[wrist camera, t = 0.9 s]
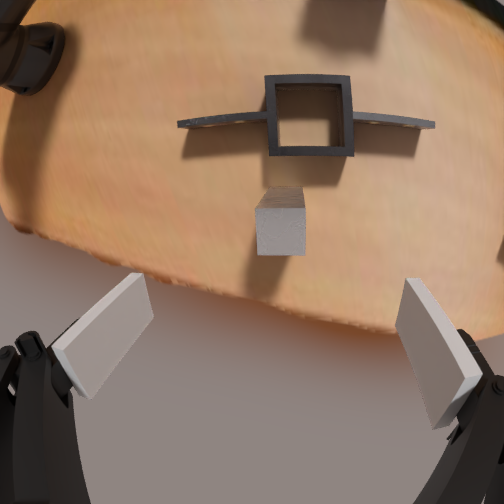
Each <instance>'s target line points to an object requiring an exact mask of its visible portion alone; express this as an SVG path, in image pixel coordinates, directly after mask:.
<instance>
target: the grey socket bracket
mask: <svg viewBox="0 0 504 504" xmlns="http://www.w3.org/2000/svg"><path fill="white" fill-rule="evenodd" d="M264 77H265V92H266V108H267V111H262V112H247V113H235V114H225V115H216V116H208V117H201V118H194V119H187V120H181V121H177V124H178V128H185V129H195V128H202V127H213V126H220V125H230V124H241V123H255V122H267V125H268V143H269V156H351V157H354V127H353V122H358V123H369V124H382V125H392V126H401V127H408V128H416V129H434V128H435V122H434V121H429V120H423V119H417V118H411V117H403V116H395V115H387V114H377V113H366V112H353V108H352V94H351V83H350V76H345V75H323V74H289V75H267V76H264ZM282 90H331V91H336V93H337V107H338V125H339V147H332V146H281V147H280V128H279V110H278V94H277V91H282Z"/></svg>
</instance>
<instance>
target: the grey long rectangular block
mask: <svg viewBox="0 0 504 504" xmlns="http://www.w3.org/2000/svg"><path fill="white" fill-rule="evenodd" d="M255 217H256V236H257V255H302V256H305V239H306V208H305V200H304V193H303V186H285V187H269V188H268V190H267V191H266V193H265V194H264V196H263V197H262V199H261V200H260V202H259V203H258V205H257V206H256V208H255Z"/></svg>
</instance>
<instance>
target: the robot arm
mask: <svg viewBox="0 0 504 504" xmlns="http://www.w3.org/2000/svg"><path fill="white" fill-rule="evenodd" d="M35 1H36V0H0V86H1V87H3V88H5V89H8V90H10V91H12V92H14V93H16V94H19V95H33V94H35V93H37V92H38V91H39V90H41V89H42V88H43V87H44V85H45V84H46V83H47V82H48V80H49V79H50V77H51V76H52V74H53V72H54V71H55V69H56V67H57V64H58V62H59V60H60V57H61V54H62V51H63V46H64V38H65V36H64V30H63V28H62V26H61V25H59V24H56V23H52V22H43V23H36V24H30V25H19V24H20V23H21V21H22V20H23V18H24V17H25V15H26V14H27V12H28V11H29V9H30V8H31V7H32V5H33V4H34V2H35ZM153 318H154V315H153V312H152V308H151V304H150V300H149V296H148V292H147V288H146V284H145V279H144V275H143V273H131V274H130V275H128V276H127V277H126V278H125V279H124V280H123V281H122V282H120V283H119V284H118V285H117V286H116V287H114V288H113V289H112V290H111V291H110V292H109V293H108V294H107V295H105V296H104V297H103V298H102V299H101V300H100V301H99V302H98V303H96V304H95V305H94V306H93V307H92V308H91V309H90V310H89V311H88V312H87V313H85V314H84V315H83V316H82V317H81V318H79V319H77V320H76V321H75V322H74V323H72V324H71V325H70V327H68V328H67V329H66V330H65V331H64V332H63V333H62V334H61V335H60V336H59V337H58V338H57V339H56V340H55V341H53V342H52V343H51V345H49V346H48V347H47V348H45V346H44V344H43V342H42V340H41V338H40V336H39V334H38V333H37V332H36V331H28V332H26V333H23V334H22V335H20V336H19V337H18V338H17V339H16V341H15V345H16V347H17V348H18V350H19V352H20V354H21V355H18V353H17V351H16V349H15V348H14V347H13V346H10V345H9V346H4V347H2V348H1V349H0V504H91V503H90V499H89V496H88V492H87V488H86V484H85V479H84V475H83V470H82V465H81V461H80V455H79V450H78V443H77V436H76V428H75V420H74V409H73V396H72V393H71V391H70V389H71V387H72V386H74V388H75V390H76V391H77V393H78V394H79V395H80V396H82V397H85V398H87V399H90V400H92V398H93V397H94V395H95V394H96V393H97V391H98V390H99V388H100V387H101V386H102V384H103V383H104V382H105V380H106V379H107V378H108V376H109V375H110V374H111V372H112V371H113V370H114V368H115V367H116V366H117V364H118V363H119V362H120V360H121V359H122V358H123V356H124V355H125V354H126V352H127V351H128V350H129V348H130V347H131V346H132V344H133V343H134V342H135V341H136V339H137V338H138V337H139V336H140V334H141V333H142V332H143V330H144V329H145V328H146V326H147V325H148V324H149V323H150V321H151V320H152V319H153ZM395 327H396V329H397V331H398V334H399V336H400V338H401V341H402V343H403V346H404V348H405V351H406V353H407V356H408V358H409V361H410V364H411V366H412V369H413V372H414V374H415V377H416V380H417V382H418V386H419V389H420V391H421V394H422V397H423V400H424V404H425V407H426V410H427V413H428V416H429V420H430V423H431V426H432V429H437V428H442V427H446V426H449V425H450V423H451V422H452V421H453V419H454V418H455V417H456V416H457V419H458V422H459V424H458V425H457V426H456V428H455V429H454V430H453V431H452V433H451V434H450V435H449V436H448V438H447V440H449V439H450V438H451V439H450V441H449V443H448V445H447V447H446V449H445V451H444V453H443V455H442V457H441V459H440V461H439V463H438V464H437V466H436V468H435V470H434V472H433V473H432V475H431V477H430V478H429V480H428V482H427V483H426V485H425V487H424V488H423V490H422V491H421V493H420V494H419V496H418V497H417V499H416V500H415V502H414V503H413V504H481V503H482V501H483V498H484V496H485V494H486V496H485V500H484V504H504V377H503V376H500V375H494V373H493V371H492V370H491V368H490V367H489V364H488V363H487V361H486V360H485V358H484V356H483V355H482V353H481V352H480V350H479V348H478V347H477V346H476V344H475V342H474V341H473V339H472V338H471V336H470V335H469V334H467V333H466V332H465V331H464V330H462V329H458V330H456V329H455V327H454V326H453V324H452V323H451V321H450V320H449V318H448V317H447V315H446V314H445V312H444V311H443V309H442V308H441V307H440V305H439V304H438V302H437V301H436V300H435V298H434V297H433V295H432V294H431V293H430V291H429V290H428V289H427V287H426V286H425V285H424V283H423V282H422V281H421V279H420V278H406V279H405V284H404V289H403V294H402V299H401V303H400V307H399V312H398V316H397V320H396V324H395ZM9 383H10V385H11V386H12V387H13V389H14V391H15V394H14V396H13V395H12V394H11V392H10V391H9V389H8V386H9Z"/></svg>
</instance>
